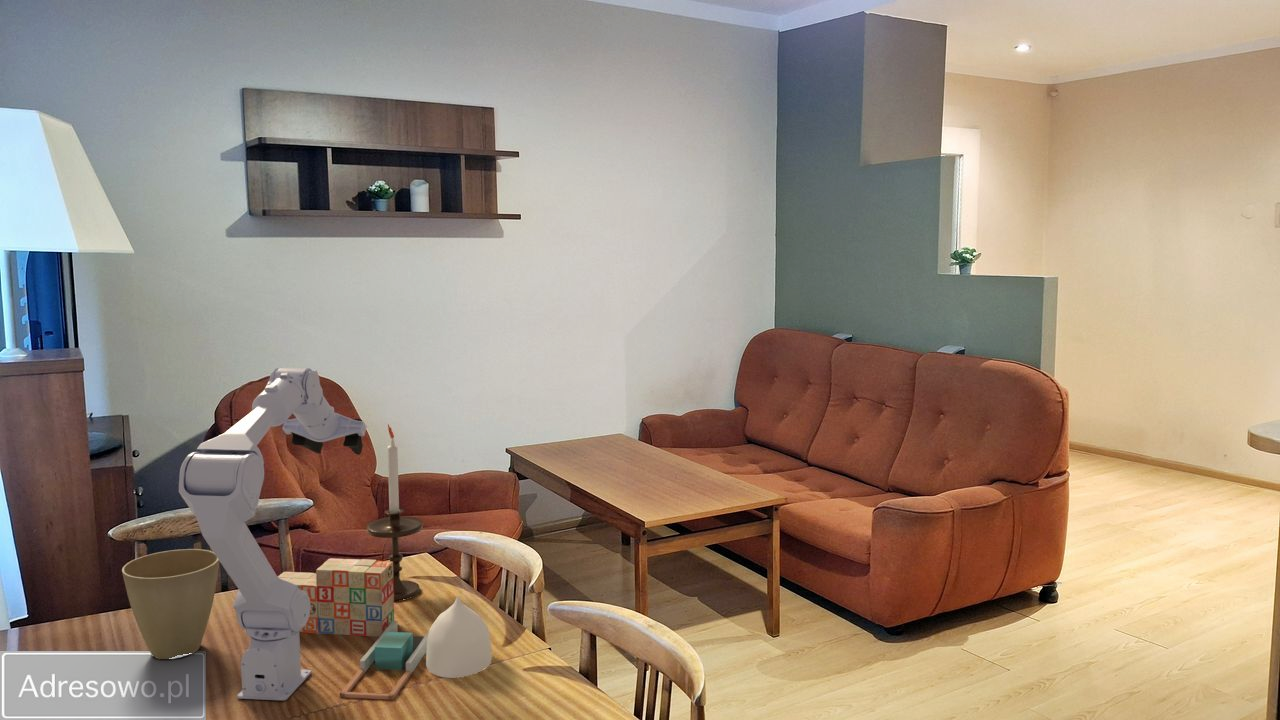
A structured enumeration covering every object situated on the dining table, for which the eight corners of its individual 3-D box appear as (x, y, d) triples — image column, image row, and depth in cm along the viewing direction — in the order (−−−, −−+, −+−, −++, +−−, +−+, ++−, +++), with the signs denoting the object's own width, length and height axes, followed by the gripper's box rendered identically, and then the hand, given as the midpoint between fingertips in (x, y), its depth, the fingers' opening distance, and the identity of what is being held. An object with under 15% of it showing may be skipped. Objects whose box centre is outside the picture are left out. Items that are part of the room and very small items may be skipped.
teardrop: (414, 660, 155) (412, 593, 153) (471, 643, 162) (470, 578, 160) (445, 685, 146) (443, 614, 145) (504, 665, 154) (503, 597, 152)
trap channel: (393, 699, 141) (392, 687, 141) (339, 697, 142) (339, 685, 142) (439, 633, 166) (439, 622, 165) (393, 631, 166) (393, 621, 166)
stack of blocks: (269, 632, 166) (266, 567, 164) (286, 617, 172) (283, 555, 171) (383, 637, 164) (381, 572, 162) (395, 623, 170) (393, 560, 169)
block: (401, 670, 151) (401, 648, 151) (375, 669, 152) (374, 647, 151) (413, 654, 157) (412, 632, 157) (388, 653, 158) (387, 631, 157)
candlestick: (375, 607, 177) (370, 431, 173) (363, 588, 187) (357, 421, 182) (430, 597, 182) (426, 426, 178) (416, 579, 192) (411, 416, 187)
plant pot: (212, 665, 152) (207, 574, 150) (115, 674, 149) (108, 581, 147) (232, 629, 167) (227, 545, 165) (144, 636, 164) (138, 550, 162)
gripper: (359, 394, 160) (382, 431, 171) (280, 392, 161) (307, 429, 172) (350, 429, 156) (374, 465, 167) (269, 427, 157) (298, 462, 168)
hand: (339, 449), depth 169 cm, fingers open, 7 cm apart
